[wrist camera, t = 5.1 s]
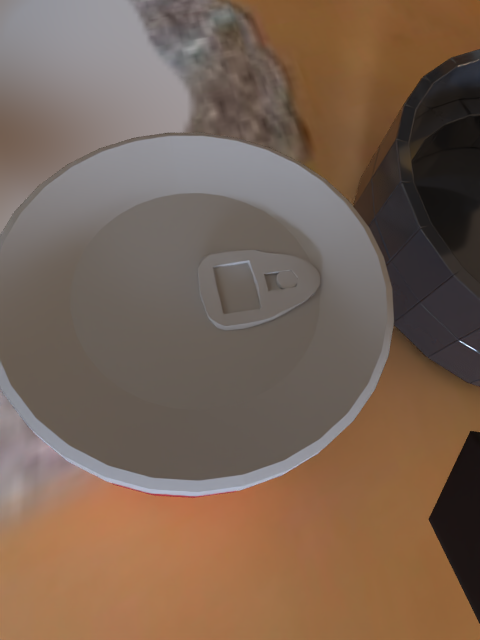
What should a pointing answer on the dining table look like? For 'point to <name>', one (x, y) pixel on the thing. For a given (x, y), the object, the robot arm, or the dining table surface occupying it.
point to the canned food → (190, 313)
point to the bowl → (432, 214)
